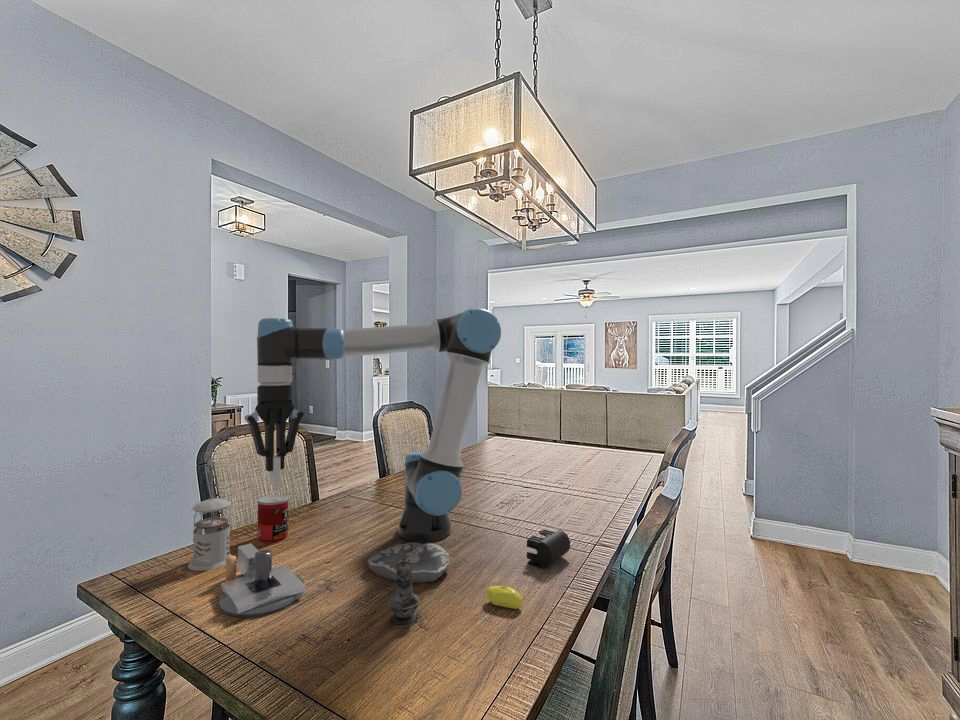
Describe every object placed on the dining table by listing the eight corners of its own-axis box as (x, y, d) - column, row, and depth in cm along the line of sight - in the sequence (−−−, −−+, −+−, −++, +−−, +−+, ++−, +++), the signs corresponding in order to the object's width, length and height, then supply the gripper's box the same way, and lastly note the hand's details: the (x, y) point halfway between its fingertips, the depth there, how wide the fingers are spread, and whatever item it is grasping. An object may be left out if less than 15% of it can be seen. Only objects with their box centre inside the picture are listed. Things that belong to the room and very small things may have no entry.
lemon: (517, 616, 88) (517, 596, 88) (481, 605, 92) (481, 586, 92) (525, 605, 92) (526, 586, 92) (490, 595, 96) (491, 577, 96)
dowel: (237, 580, 101) (238, 556, 101) (231, 584, 99) (231, 559, 99) (230, 579, 102) (230, 555, 102) (223, 583, 100) (223, 559, 100)
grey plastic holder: (306, 590, 94) (306, 566, 94) (237, 613, 86) (237, 587, 86) (273, 558, 110) (273, 537, 110) (212, 575, 101) (212, 552, 101)
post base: (318, 581, 101) (318, 541, 101) (272, 621, 85) (272, 574, 85) (255, 574, 104) (255, 535, 104) (200, 612, 89) (200, 566, 89)
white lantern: (200, 574, 104) (201, 466, 104) (176, 562, 110) (176, 460, 110) (242, 558, 112) (243, 458, 112) (217, 548, 119) (217, 453, 119)
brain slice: (460, 557, 115) (460, 545, 115) (441, 590, 98) (441, 577, 98) (387, 550, 119) (387, 539, 119) (357, 581, 102) (357, 568, 102)
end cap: (551, 573, 106) (551, 544, 106) (525, 565, 110) (525, 537, 110) (570, 558, 114) (570, 532, 114) (545, 551, 118) (545, 525, 118)
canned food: (277, 544, 121) (277, 503, 121) (250, 541, 123) (251, 501, 123) (294, 533, 129) (294, 495, 129) (269, 531, 130) (269, 493, 130)
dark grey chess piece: (390, 611, 89) (390, 550, 89) (420, 610, 90) (420, 549, 90) (386, 629, 83) (387, 564, 83) (418, 627, 84) (419, 563, 84)
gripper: (296, 382, 114) (296, 476, 114) (240, 384, 105) (240, 486, 105) (308, 383, 108) (308, 482, 108) (250, 385, 99) (250, 493, 99)
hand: (275, 483), depth 107 cm, fingers closed
